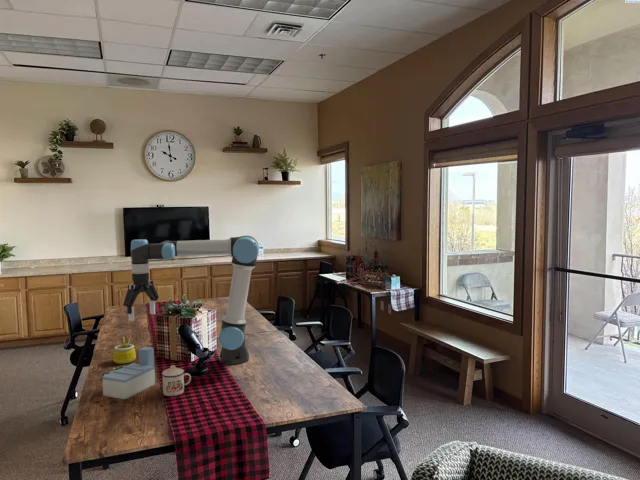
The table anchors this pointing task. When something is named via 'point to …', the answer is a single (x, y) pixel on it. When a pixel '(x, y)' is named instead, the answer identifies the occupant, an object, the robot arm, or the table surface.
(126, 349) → the mug
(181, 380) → the teacup with lid
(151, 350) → the light blue l-shaped piece
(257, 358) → the table surface
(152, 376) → the tub
